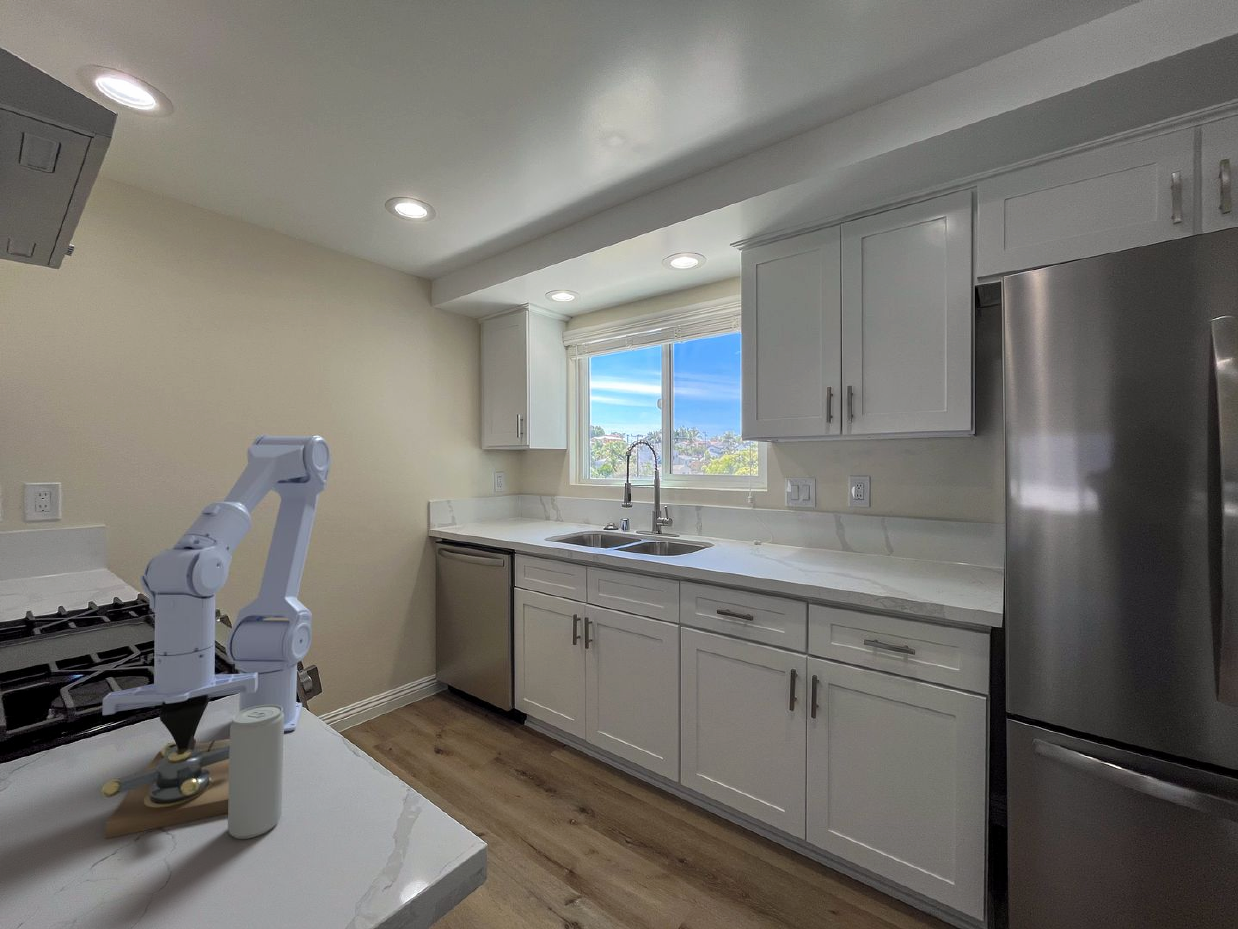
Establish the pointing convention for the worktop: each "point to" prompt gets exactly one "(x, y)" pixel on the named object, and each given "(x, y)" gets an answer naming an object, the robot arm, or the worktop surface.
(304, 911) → the worktop surface
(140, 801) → the valve wheel board
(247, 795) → the beverage can
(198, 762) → the capstan
